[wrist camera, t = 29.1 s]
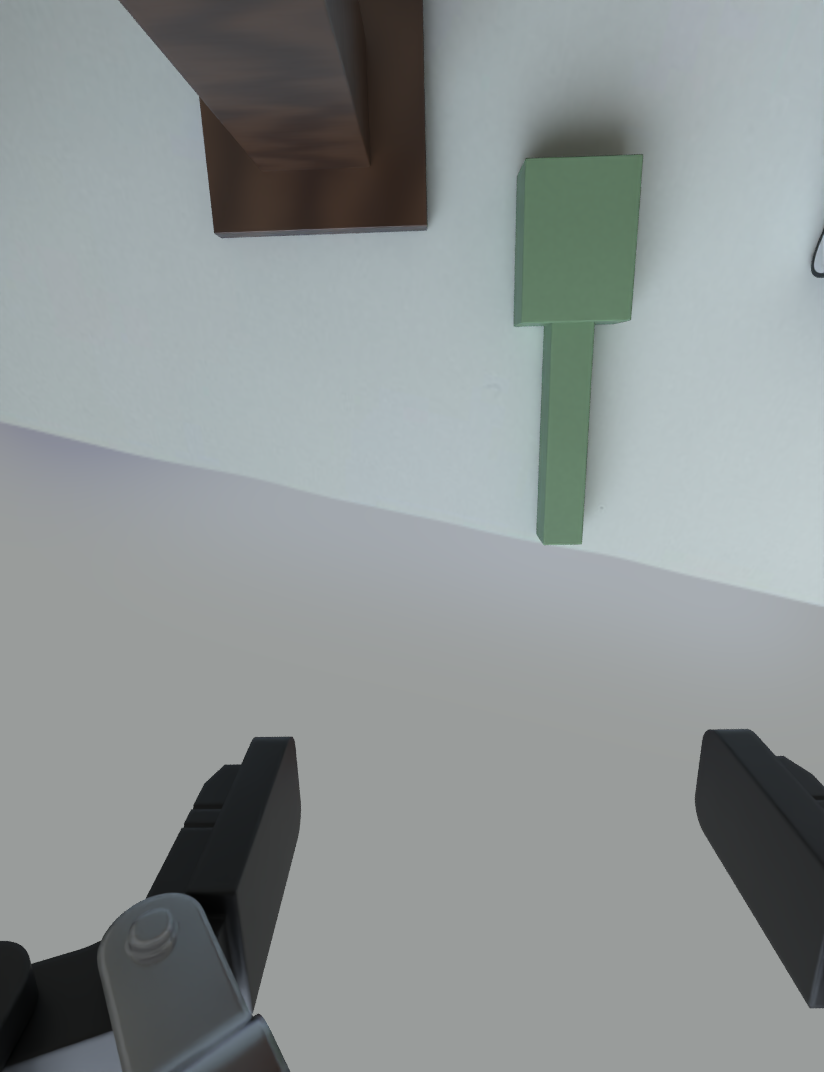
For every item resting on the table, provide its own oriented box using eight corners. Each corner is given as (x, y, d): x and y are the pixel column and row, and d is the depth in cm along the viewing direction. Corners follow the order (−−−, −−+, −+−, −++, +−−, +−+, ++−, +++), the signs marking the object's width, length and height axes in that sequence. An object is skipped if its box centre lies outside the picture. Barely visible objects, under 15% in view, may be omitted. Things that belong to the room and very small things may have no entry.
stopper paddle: (508, 535, 39) (515, 548, 36) (516, 175, 33) (525, 157, 30) (600, 533, 39) (614, 547, 36) (624, 172, 33) (643, 153, 30)
